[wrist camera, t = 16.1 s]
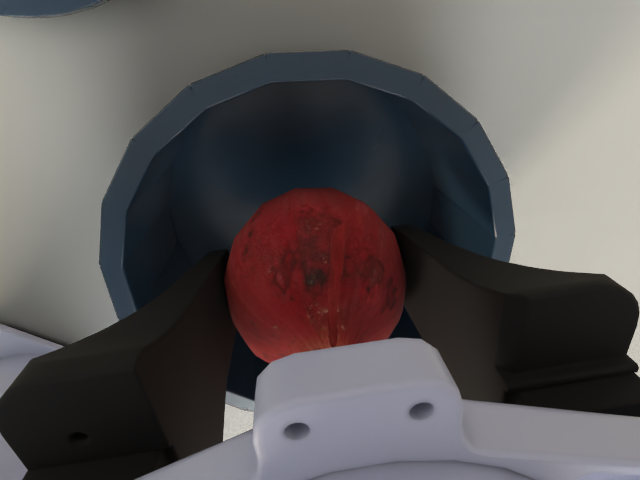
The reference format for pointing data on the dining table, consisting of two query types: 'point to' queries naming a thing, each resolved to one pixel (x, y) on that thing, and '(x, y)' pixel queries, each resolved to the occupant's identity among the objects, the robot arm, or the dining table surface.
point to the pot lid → (45, 7)
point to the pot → (296, 171)
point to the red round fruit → (314, 275)
